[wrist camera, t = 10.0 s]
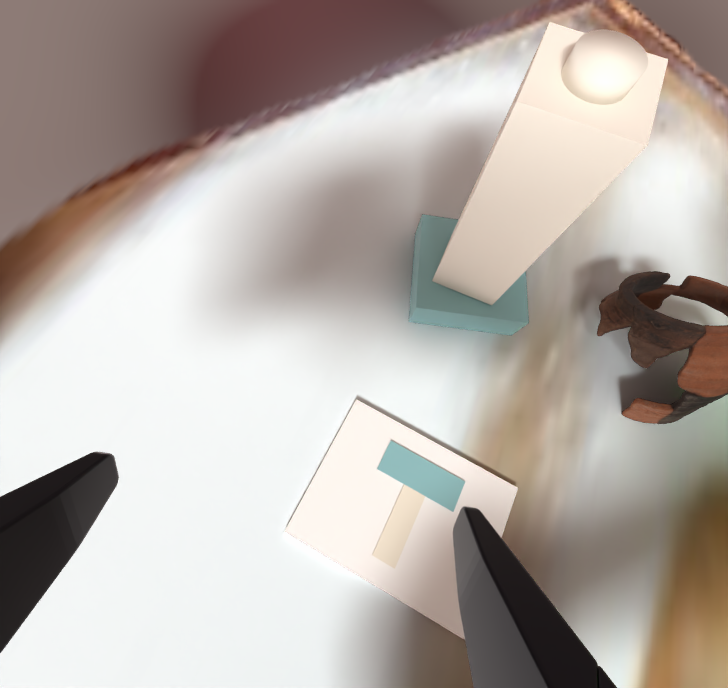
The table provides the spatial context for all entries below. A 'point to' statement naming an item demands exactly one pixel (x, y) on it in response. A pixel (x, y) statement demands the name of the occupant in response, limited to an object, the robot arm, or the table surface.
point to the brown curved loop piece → (671, 340)
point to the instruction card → (397, 510)
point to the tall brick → (553, 154)
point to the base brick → (452, 306)
